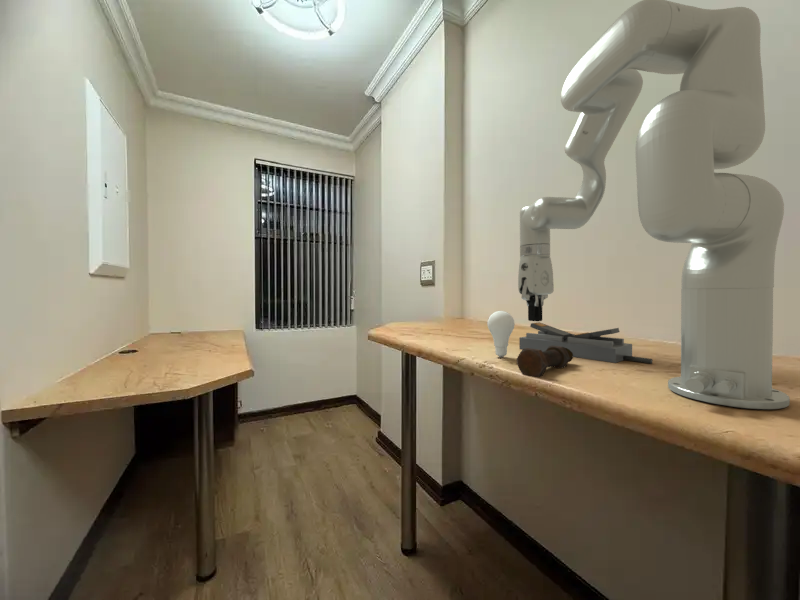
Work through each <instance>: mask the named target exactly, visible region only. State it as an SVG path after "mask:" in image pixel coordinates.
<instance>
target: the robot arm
mask: <svg viewBox="0 0 800 600" xmlns="http://www.w3.org/2000/svg"><path fill="white" fill-rule="evenodd" d="M761 60H762V59H761V22H760V17H759V16H758V14H757V13H756V12H755V11H754V10H752V9H751V8H749V7H745V6H736V7H735V6H734V7H728V8H727V7H726V8H718V9H711V8H710V9H709V8H702V7H697V6H693V5H686V4H682V3H678V2H674V1H670V0H640V1H638V2H636V3H634V4H632V5H631V6H630V7H629V8H627V9H626V10H625V11H624V12H623V13H622V14H620V15H619V17H617V19H615V21H613V23H612V24H611V25H610V26H609V27H608V28H607V29H606V30H605V31H604V32H603V33H602V35H601V36H599V38H597V40H595V42H594V43H593V44H592V45H591V46H590V47H589V48H588V49H587V50H586V52H585V53H583V55H582V56H581V57H580V58H579V59H578V61H577V63H576V64H575V65H574V66H573V67H572V69H571V71H570V72H569V73H568V75H567V77H566V79H565V80H564V83H563V85H562V88H561V92H560V103H561V105H562V107H563V108H564V109H565V110H567V111H570V112H574V113H575V112H576V113H579V115H578V117H577V119H576V122H575V125H574V126H573V128H572V131H571V133H570V135H569V137H568V139H567V142H566V143H565V145H564V152H565V154H566V156H567V157H568V158H570V159H571V160H573V161H574V162H575V163H577V164H578V165H579V166H580V167H581V170H582V174H583V175H582V181H581V182H582V183H581V184H580V187H579V189H578V191H577V193H576V195H575V197H564V196H563V197H562V196H561V197H560V196H558V197H557V196H543V197H540V198H538V199H537V200H536V201H534V202H533V203H531V204H529V205H526V206H524V207H522V208H520V212H519V263H518V278H517V279H518V280H517V287H518V293H519V294H520V295H521V299H522V301H526V306H527V318H528V319H527V320H528V321H529V322H542V321H543V306H544V301H545V300H546V299H548V297H549V295H551V294H553V293H554V270H553V262H552V258H551V230H556V229H557V230H577V229H580V228H582V227H583V226H585V225H586V224H587V223H588V222H590V221H589V220H591V218H592V217H593V215H594V213H595V212H596V210H597V208H598V207H599V205H600V203H601V202H602V199H603V197H604V195H605V191H606V183H607V173H606V171H607V170H606V165H605V161H606V160H605V159H606V157H607V155H608V153H609V151H610V150H611V148H612V146H613V144H614V142H615V141H616V139H617V137H618V135H619V133H620V132H621V129H622V127H623V125H624V124H625V122H626V120H627V118H628V117H629V115H630V113H631V111H632V109H633V107H634V105H635V104H636V102H637V100H638V98H639V96H640V94H641V92H642V90H643V89H642V88H643V85H644V80H643V76H642V74H641V73H640V71H642V72H648V73H655V74H659V75H660V74H661V75H680V74H683V75H682V77H681V80H680V84H679V86H680V87H679V91H676V92H673V93H670V94H669V95H667V96H665V97H664V98H662V99H661V100H660V101H659V102H657V103H656V104H655V105H654V106H653V107H652V108H650V110H649V112H647V115H645V118H644V119H643V121H642V123H641V125H640V127H639V130H638V133H637V137H636V141H635V172H636V174H635V175H636V189H637V190H636V191H637V192H636V193H637V194H636V195H637V208H638V210H637V211H638V217H639V221H640V223H641V226H642V228H643V229H644V231H645V232H646V233H647V234H648V235H649V236H650V237H651V238H654V239H656V240H658V241H661V242H665V243H677V244H678V243H679V244H691V246H690V248H689V251H688V253H687V255H686V258H685V261H684V263H683V267H682V272H681V288H680V289H681V290H680V376H675V377H671V378H670V379H668V381H667V386H668V387H667V388H668V389H669V390H670V391H672V392H674V393H675V394H678V395H679V396H683V397H686V398H689V399H691V400H696V401H700V402H704V403H708V404H714V405H720V406H727V407H731V408H733V407H734V408H741V409H748V410H749V409H751V410H778V409H780V410H781V409H784V408H787V407H789V406H790V404H791V403H790V396H789V395H788V394H786V393H785V392H783V391H781V390H778V389H775V388H773V343H774V342H773V341H774V340H773V338H774V337H773V336H774V335H773V334H774V333H773V331H774V327H773V325H774V324H773V323H774V287H775V260H776V253H777V252H776V251H777V245H778V240H779V235H780V232H781V227H782V224H783V219H784V214H785V203H784V199H783V196H782V194H781V193H780V191H779V189H778V188H777V187H776V186H775V185H773V184H772V183H771V182H769V181H767V180H766V179H763V178H760V177H758V176H754V175H749V174H741V173H740V174H738V173H729V172H715V170H724V169H729V168H732V167H736V166H739V165H741V164H743V163H745V162H746V161H747V160H749V159H750V158H752V157H753V155H755V153H756V152H757V151H758V150H759V148H760V147H761V144H762V143H763V140H764V137H765V132H766V116H765V100H764V99H765V98H764V97H765V96H764V95H765V94H764V82H763V80H764V79H763V70H762V61H761Z"/></svg>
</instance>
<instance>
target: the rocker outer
mask: <svg viewBox="0 0 800 600" xmlns="http://www.w3.org/2000/svg"><path fill="white" fill-rule="evenodd" d="M529 327H530V328H532V329H535V330H536V331H542V332H544V333H545V334H550V335H555V336H563V339H565V338H568V337H571V334H572V333H571V332H569V331H565V330H562V329H560V328H556V327H553V326H551V325H548V324H546V323H542V322H541V321H537V322H532V323H530V326H529Z"/></svg>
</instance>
